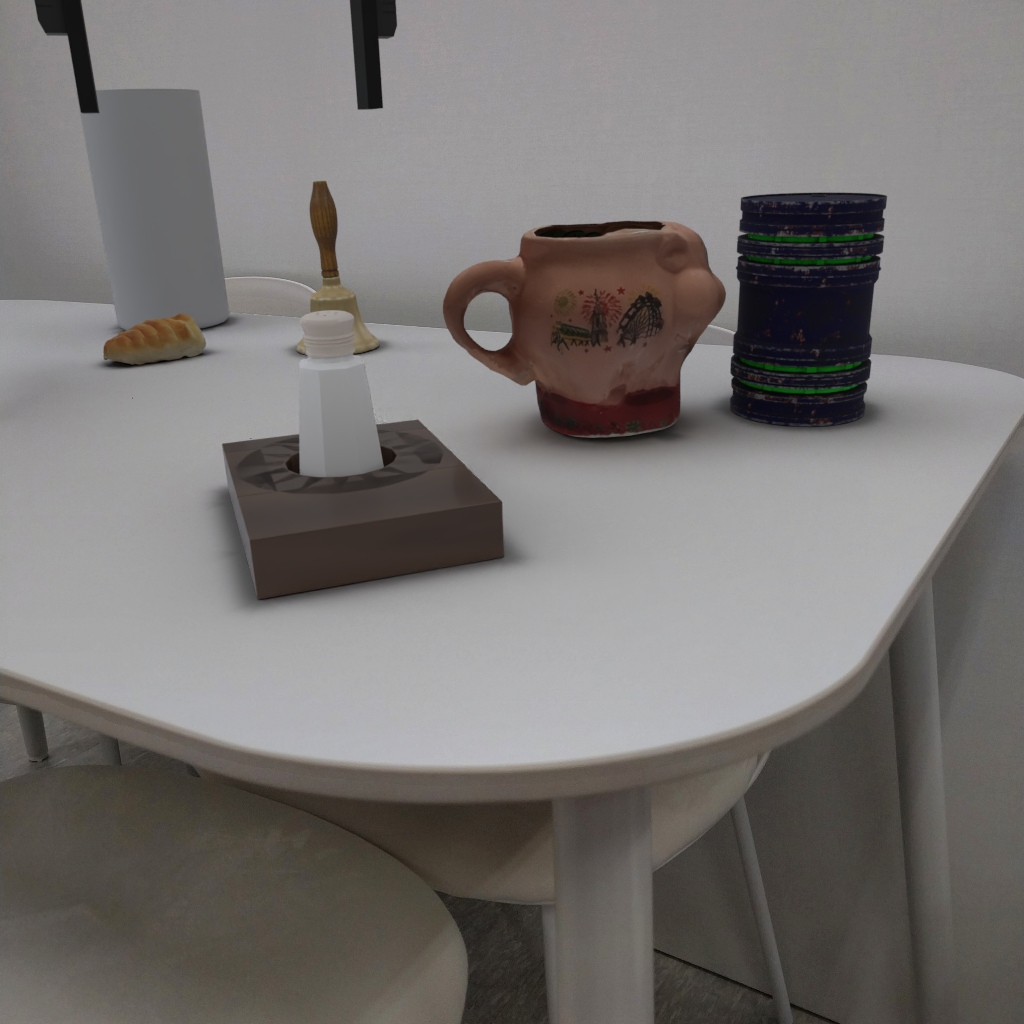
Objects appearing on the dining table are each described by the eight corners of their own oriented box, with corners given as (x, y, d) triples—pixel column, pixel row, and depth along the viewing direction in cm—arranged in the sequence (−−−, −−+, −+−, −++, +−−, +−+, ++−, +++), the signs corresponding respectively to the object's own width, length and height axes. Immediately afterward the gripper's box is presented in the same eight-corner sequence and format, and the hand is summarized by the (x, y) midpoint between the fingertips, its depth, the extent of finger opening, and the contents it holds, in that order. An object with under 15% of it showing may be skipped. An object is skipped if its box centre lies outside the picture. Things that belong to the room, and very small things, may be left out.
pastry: (127, 371, 90) (120, 330, 89) (90, 363, 94) (83, 324, 93) (213, 352, 97) (207, 314, 96) (175, 346, 101) (169, 309, 100)
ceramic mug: (488, 474, 60) (479, 242, 55) (426, 425, 70) (413, 226, 65) (757, 429, 67) (770, 220, 62) (664, 391, 77) (669, 210, 72)
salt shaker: (321, 534, 51) (299, 327, 47) (281, 506, 56) (258, 313, 52) (410, 511, 54) (396, 313, 50) (366, 486, 58) (350, 301, 54)
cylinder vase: (239, 313, 120) (210, 92, 111) (217, 331, 108) (183, 87, 99) (136, 317, 119) (99, 96, 110) (103, 336, 107) (58, 91, 98)
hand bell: (318, 360, 92) (300, 184, 87) (283, 347, 99) (264, 182, 93) (394, 347, 97) (382, 179, 91) (355, 336, 103) (342, 178, 97)
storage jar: (857, 432, 66) (881, 202, 60) (714, 419, 70) (724, 202, 64) (873, 397, 74) (895, 191, 69) (744, 387, 78) (755, 192, 73)
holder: (228, 490, 58) (221, 443, 57) (421, 464, 62) (418, 419, 61) (257, 600, 44) (249, 540, 43) (504, 557, 48) (502, 500, 47)
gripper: (-201, -552, 33) (-56, 113, 41) (483, -434, 41) (496, 105, 49) (-147, -439, 40) (-31, 116, 48) (434, -356, 48) (453, 109, 56)
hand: (236, 111), depth 48 cm, fingers open, 13 cm apart
